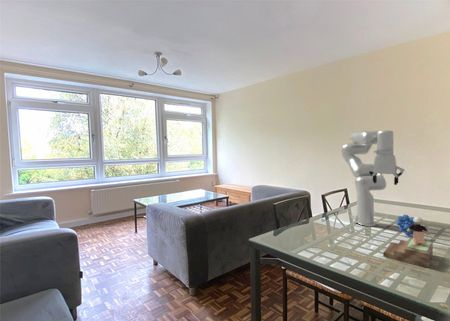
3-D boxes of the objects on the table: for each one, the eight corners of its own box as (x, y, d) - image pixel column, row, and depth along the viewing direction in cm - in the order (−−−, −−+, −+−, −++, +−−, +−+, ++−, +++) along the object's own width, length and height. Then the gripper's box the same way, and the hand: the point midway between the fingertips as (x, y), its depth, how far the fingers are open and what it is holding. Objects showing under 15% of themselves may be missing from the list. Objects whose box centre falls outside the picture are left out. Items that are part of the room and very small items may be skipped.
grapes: (393, 235, 135) (393, 214, 135) (398, 232, 139) (397, 212, 139) (419, 241, 126) (419, 218, 125) (423, 237, 130) (423, 216, 130)
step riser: (383, 256, 111) (383, 243, 110) (391, 245, 122) (391, 233, 121) (428, 267, 99) (428, 253, 99) (432, 254, 110) (432, 241, 110)
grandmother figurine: (426, 243, 108) (426, 216, 107) (430, 247, 104) (430, 218, 104) (406, 241, 111) (406, 214, 110) (408, 244, 108) (408, 217, 107)
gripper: (365, 153, 135) (365, 183, 136) (403, 153, 122) (403, 186, 123) (369, 152, 140) (369, 181, 141) (405, 152, 127) (405, 184, 128)
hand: (385, 183), depth 132 cm, fingers open, 9 cm apart
